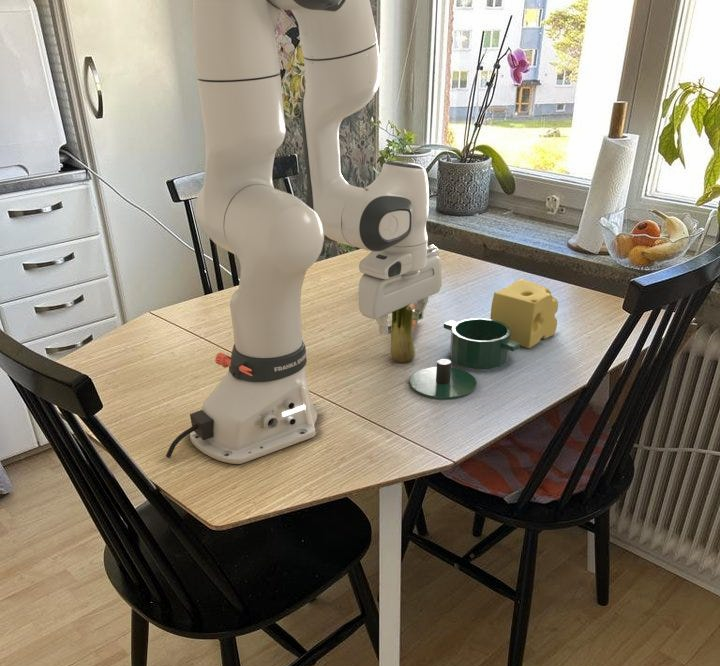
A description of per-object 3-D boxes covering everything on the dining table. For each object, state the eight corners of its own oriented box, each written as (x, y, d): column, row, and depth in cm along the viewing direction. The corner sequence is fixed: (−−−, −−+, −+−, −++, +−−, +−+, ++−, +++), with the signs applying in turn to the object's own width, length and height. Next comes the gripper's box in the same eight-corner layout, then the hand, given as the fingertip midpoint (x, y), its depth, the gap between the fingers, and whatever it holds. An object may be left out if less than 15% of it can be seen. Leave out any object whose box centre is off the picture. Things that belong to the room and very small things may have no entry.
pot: (496, 381, 136) (499, 351, 132) (428, 356, 145) (429, 326, 142) (530, 361, 142) (534, 332, 139) (462, 338, 152) (464, 310, 148)
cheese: (555, 334, 153) (562, 289, 147) (528, 351, 146) (534, 304, 141) (514, 322, 159) (519, 277, 153) (486, 337, 152) (490, 291, 146)
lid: (448, 409, 127) (449, 383, 124) (396, 387, 134) (396, 362, 132) (489, 385, 134) (491, 360, 132) (437, 365, 142) (439, 341, 139)
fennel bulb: (388, 355, 146) (388, 298, 139) (411, 353, 146) (413, 296, 139) (393, 367, 141) (393, 309, 134) (417, 365, 142) (419, 308, 135)
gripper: (426, 239, 139) (423, 307, 147) (352, 265, 127) (353, 337, 135) (451, 245, 136) (447, 315, 144) (378, 273, 124) (378, 347, 132)
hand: (401, 326), depth 139 cm, fingers open, 8 cm apart
